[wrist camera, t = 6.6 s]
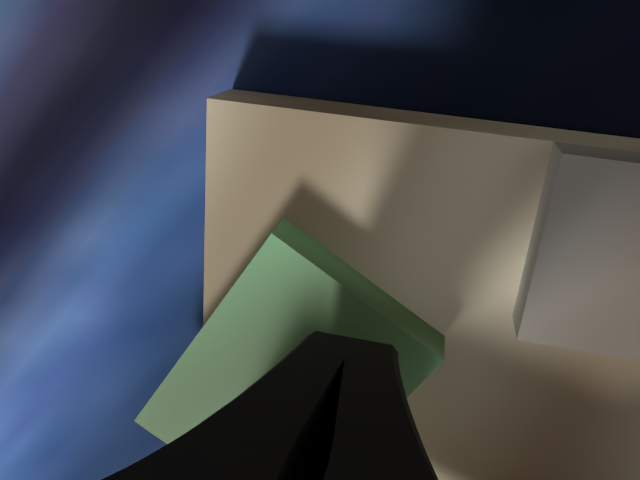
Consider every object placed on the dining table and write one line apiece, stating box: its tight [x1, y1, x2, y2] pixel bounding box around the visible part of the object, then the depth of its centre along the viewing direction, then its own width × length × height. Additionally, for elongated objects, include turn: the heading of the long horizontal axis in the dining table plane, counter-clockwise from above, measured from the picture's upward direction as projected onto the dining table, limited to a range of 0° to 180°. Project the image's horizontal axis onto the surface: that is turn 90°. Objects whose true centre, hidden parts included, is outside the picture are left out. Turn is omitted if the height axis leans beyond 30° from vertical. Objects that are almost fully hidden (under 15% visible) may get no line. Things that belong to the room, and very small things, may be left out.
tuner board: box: [134, 89, 640, 480], centre depth 11 cm, size 16×11×2 cm
